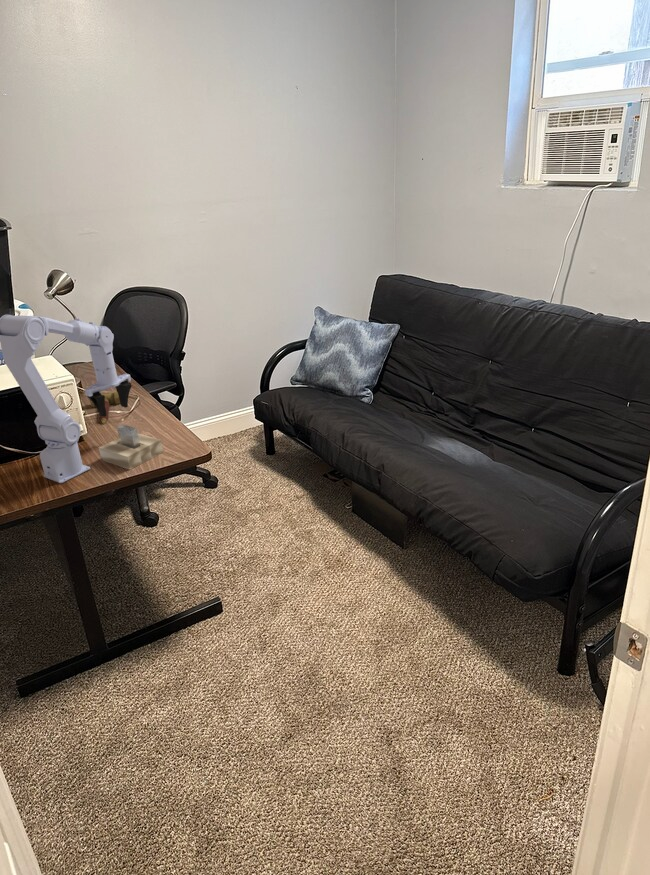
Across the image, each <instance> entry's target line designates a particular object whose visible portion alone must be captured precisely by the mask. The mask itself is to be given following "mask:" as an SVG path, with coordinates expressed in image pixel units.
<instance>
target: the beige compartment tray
mask: <svg viewBox="0 0 650 875" xmlns="http://www.w3.org/2000/svg"><path fill="white" fill-rule="evenodd" d="M138 436H139V442H140V447H138V448H136V449H133V448H129V447H126V446H123V445H121V444H120V439H119V437H118V438H117V439H114V440H113V441H109V442H108V443H106V444H103V445H101V446H99V447H98V449H99V450H98V451H99V454H100V458H101V461H102V462H106V463H109V464H111V465H112V464H113V465H115V466H117V467H120V468H124V469H127V470H129V471H131V470H132V469H134V468H137V467H138V466H140V465H142V464H144V463H146V462H148V461H150V460H151V459H153V458H155V457H157V456H159V455H160V454H161V455H162V454H163V453H164V449H163V445H162V439H159V438H157V437H156V438H155V437H153V436H149V435H146V434H142V433H139V432H138Z"/></svg>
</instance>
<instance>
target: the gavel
mask: <svg viewBox="0 0 650 875" xmlns="http://www.w3.org/2000/svg"><path fill="white" fill-rule="evenodd" d="M101 395H104V396H105V409H106V416H105V417H104V416H100V415H99V420H100V422H101V423H102V424H103V425H104V424H106V422H107V421H108V420H109V414H110V413H109V412H110V405H114V404H116V405H121V404H120V400H119V395H118V392H117V390H115V391H113V392H107V393H101ZM89 403H90V407H91V408H96V406H95V405H94V404H93V402H92V401H91V400H90V399H89Z"/></svg>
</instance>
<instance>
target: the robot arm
mask: <svg viewBox="0 0 650 875" xmlns="http://www.w3.org/2000/svg"><path fill="white" fill-rule="evenodd" d="M49 333H50V334H57V335H62V336H64V337H65V338H66V340H67V341H69V342H73V343H77V344H83V345H85V346H87V347H88V348H89V351H90V352H89V353H90V356H91V357H90V358H91V360H92V364H93V365H92V366H93V370H94V374H95V375H94V376H95V378H96V379H95V380H96V382H95V383H93V384H92V385H90V386H88V387H87V388H85V389H84V394H85V396H86V397H87V398H88V400H89V401H90V400H91V401H92V402H93V404H94V405H95V406H96V407H95V408H96V410H97V412H98V413H99V417H100V416H104V417H105V416H106V409H105V396H104V395H101V394H102V393H101V392H104V391H105V390H108V389H111V388H115V391H117V392H118V395H119V400H120V404H119V405H120V406H121V407H122V408H128V404H129V395H130V391H131V389H132V383H131V381H132V378H131V374H129V373H123V374H121V375H118V374H117V369H116V363H115V360H114V355H113V351H114V350H113V349H114V346H113V342H114V340H115V339H114V338H115V337H114V336H115V335H114V333H112V331H111V329H110V328H109V327H108V326H105V325H96V323H95V322H91V321H90V322H84V321H83V319H82V318H77V317H75V318H74V319H71V320H68V321H67V322H65V321H60V320H57V319H55V318H54V319H53V318H50V317H46V316H36V315H13V314H4V315H2V316H1V317H0V349H1V352H2V358H3V362H4V363H5V365H6V367H7V368H8V370H9V372H10V373H11V374H12V376H13V378H14V380H15V381H16V382H17V384H18V386H19V387H20V389H21V391H22V392H23V394H24V396H25V397H26V399H27V401H28V403H29V404H30V405H31V407H32V409H33V411H34V412H35V413H36V415H37V416H36V417H35V418H34V419H35V420H34V422H33V423H34V424H35V426H36V431H37V434H38V437H39V438H40V439H41V440H43V441H44V442H45V445H47V446H46V448H44V449H43V450H41V451H40V452H39V459H40V462H41V466H42V471H43V473H44V474H43V477H44V478H46V479H49V480H51V481H54V482H55V483H59V484H63V483H65V482H67V481H69V480H71V479H73V478H75V477H77V476H79V475H82V474H84V472H85V473H86V472H88V471H89V470H91V466H88V465H85V464H83V460H82V457H81V453H80V448H79V444H78V442H79V439H80V437H81V433H82V432H81V431H82V429H81V426H80V424H79V423H78V421H76V420H74V418H72V416H71V414H69V413H68V412H66V411H64V410H63V409H61V408H60V407H59V405H58V403H57V401H56V400H55V398H54V396H53V395H52V393H51V391H50V389H49V388H48V386H47V384H46V382H45V381H44V379H43V377H42V375H41V374H40V372H39V371H38V370H39V369H38V368H37V367H36V365H35V363H34V362H33V359H32V357H33V356H34V355H35V353H36V351H37V350H38V349H39V347H40V345H41V343H42V341H43V340H44V337H45V336H48V335H49Z"/></svg>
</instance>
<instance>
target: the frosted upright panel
mask: <svg viewBox="0 0 650 875" xmlns="http://www.w3.org/2000/svg"><path fill="white" fill-rule="evenodd" d="M116 430H117V433H118V438H119V439H120V444H121V445H123V446H126V447H129V448H133V449H136V448H138V447H140V442H139V436H138V433H139V432H138V428H137V427H134V426H130V425H126V424H120V425H118V426H117V427H116Z"/></svg>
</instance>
